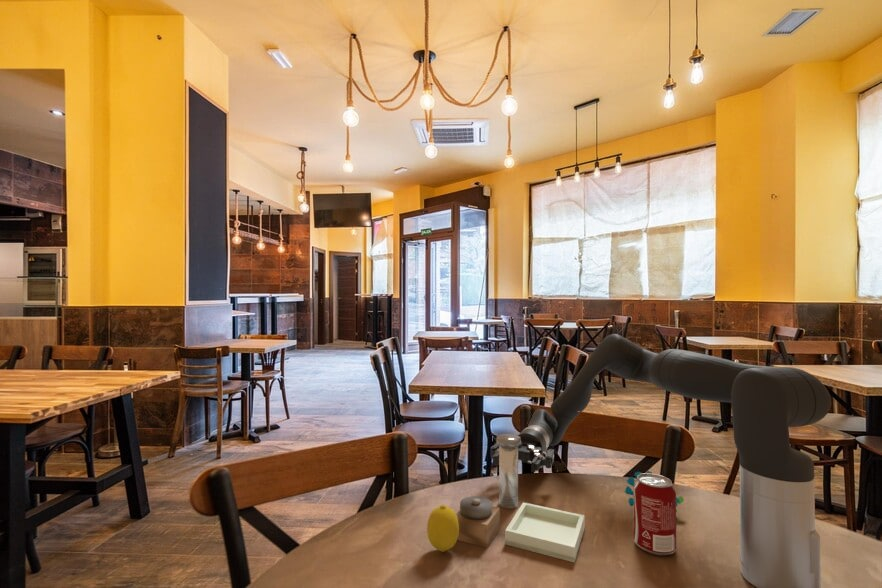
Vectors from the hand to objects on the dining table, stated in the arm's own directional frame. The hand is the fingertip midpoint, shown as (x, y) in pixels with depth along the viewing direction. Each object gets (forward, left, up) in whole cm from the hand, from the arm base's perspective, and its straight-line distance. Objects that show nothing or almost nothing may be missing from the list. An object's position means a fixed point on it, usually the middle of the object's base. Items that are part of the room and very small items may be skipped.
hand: (513, 464), depth 95 cm
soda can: (-28, +7, -8) cm, 30 cm away
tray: (-10, +12, -7) cm, 18 cm away
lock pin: (0, +3, -7) cm, 8 cm away
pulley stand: (+2, +17, -7) cm, 19 cm away
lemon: (+5, +25, -8) cm, 27 cm away
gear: (-28, -6, -8) cm, 29 cm away
